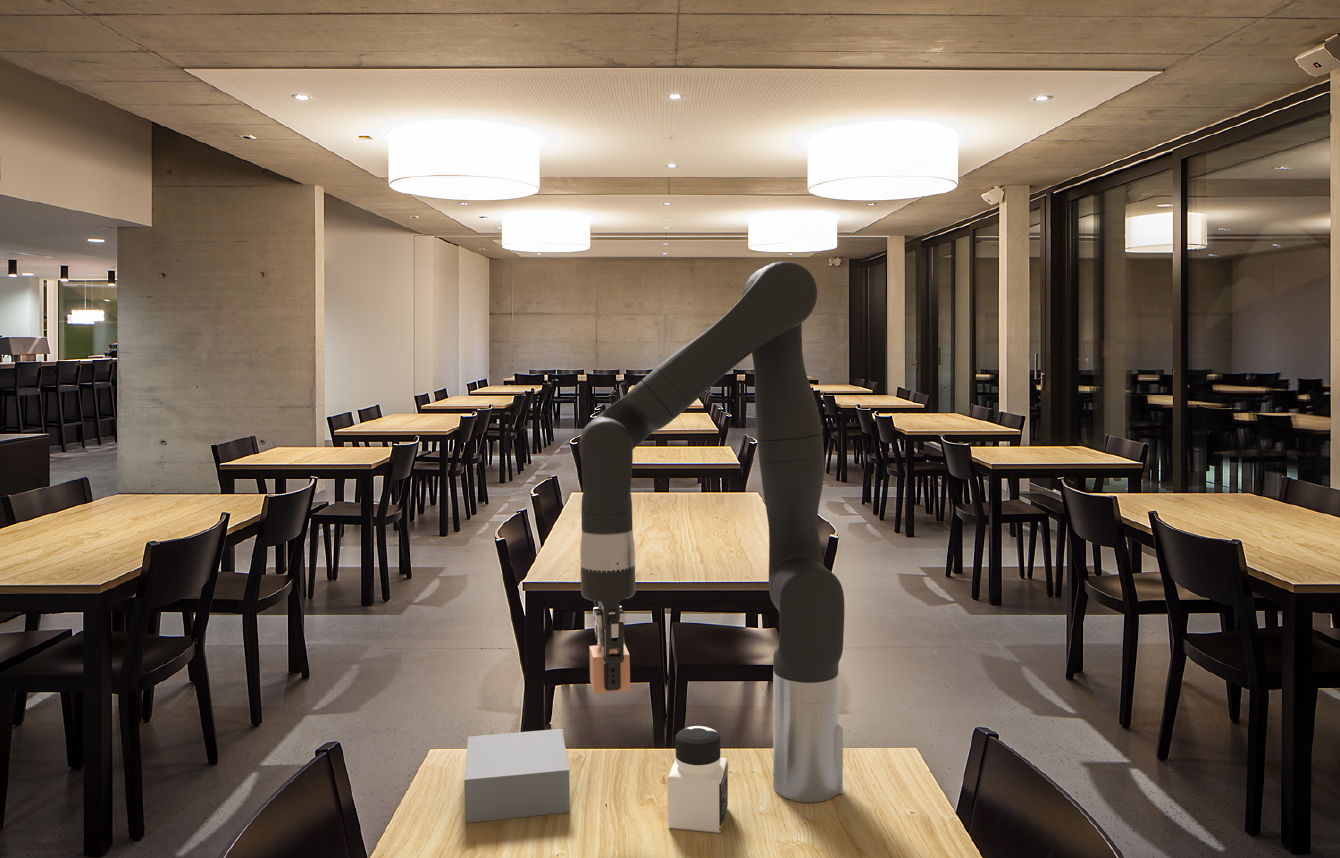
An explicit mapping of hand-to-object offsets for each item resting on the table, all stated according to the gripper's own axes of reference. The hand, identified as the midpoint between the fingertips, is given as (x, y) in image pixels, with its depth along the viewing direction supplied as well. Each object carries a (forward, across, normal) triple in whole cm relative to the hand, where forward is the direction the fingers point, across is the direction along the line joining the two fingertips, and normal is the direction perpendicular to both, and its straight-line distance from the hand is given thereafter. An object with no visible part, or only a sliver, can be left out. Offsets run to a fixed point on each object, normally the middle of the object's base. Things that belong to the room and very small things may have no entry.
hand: (610, 681), depth 122 cm
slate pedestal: (+17, +5, +13) cm, 22 cm away
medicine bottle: (+17, -7, -11) cm, 22 cm away
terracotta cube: (0, 0, 0) cm, 0 cm away
